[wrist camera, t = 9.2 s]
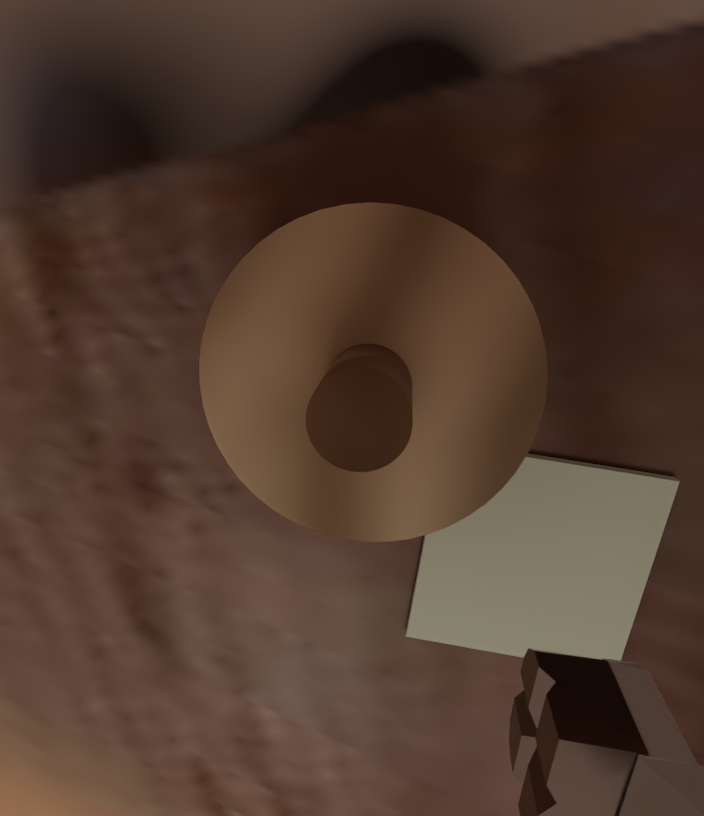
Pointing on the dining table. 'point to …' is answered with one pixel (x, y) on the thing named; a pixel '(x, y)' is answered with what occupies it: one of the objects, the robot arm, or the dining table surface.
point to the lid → (373, 372)
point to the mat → (545, 562)
